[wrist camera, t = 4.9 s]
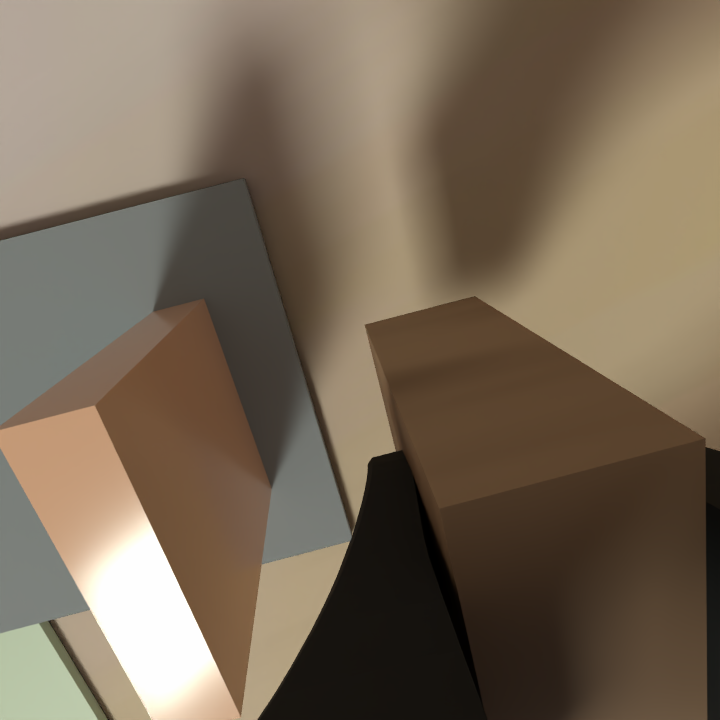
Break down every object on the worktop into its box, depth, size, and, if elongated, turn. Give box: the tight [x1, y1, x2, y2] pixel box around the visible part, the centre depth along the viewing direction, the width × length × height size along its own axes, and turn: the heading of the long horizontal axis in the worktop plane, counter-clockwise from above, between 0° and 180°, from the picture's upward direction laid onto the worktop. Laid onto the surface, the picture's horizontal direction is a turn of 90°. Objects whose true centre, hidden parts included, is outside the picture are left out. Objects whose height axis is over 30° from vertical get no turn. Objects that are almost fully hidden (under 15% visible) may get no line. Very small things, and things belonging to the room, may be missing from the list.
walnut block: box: [365, 296, 707, 720], centre depth 9 cm, size 5×3×7 cm, turn 14°
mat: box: [0, 178, 352, 633], centre depth 16 cm, size 13×14×1 cm
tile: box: [0, 299, 272, 720], centre depth 12 cm, size 7×2×8 cm, turn 14°
